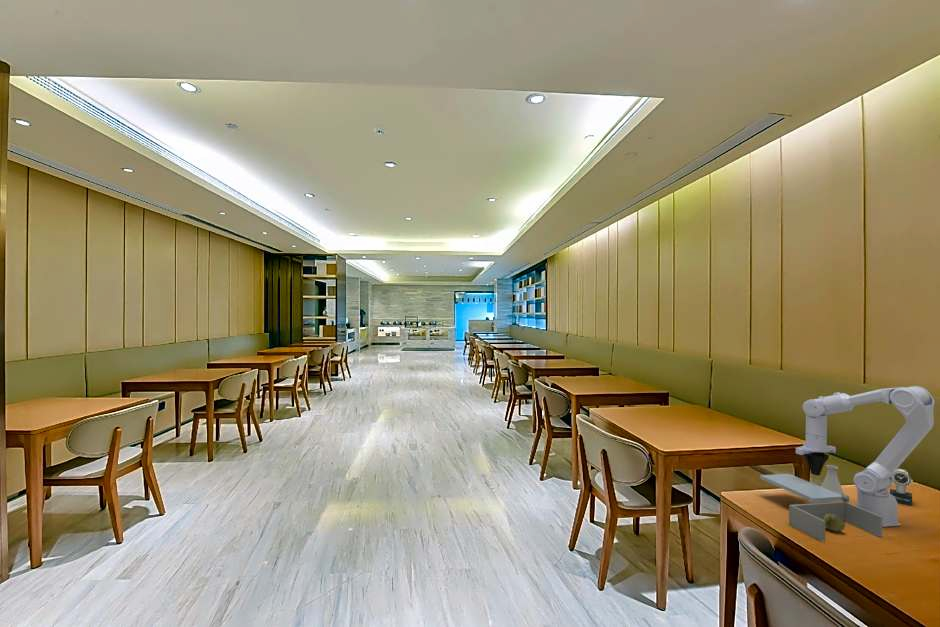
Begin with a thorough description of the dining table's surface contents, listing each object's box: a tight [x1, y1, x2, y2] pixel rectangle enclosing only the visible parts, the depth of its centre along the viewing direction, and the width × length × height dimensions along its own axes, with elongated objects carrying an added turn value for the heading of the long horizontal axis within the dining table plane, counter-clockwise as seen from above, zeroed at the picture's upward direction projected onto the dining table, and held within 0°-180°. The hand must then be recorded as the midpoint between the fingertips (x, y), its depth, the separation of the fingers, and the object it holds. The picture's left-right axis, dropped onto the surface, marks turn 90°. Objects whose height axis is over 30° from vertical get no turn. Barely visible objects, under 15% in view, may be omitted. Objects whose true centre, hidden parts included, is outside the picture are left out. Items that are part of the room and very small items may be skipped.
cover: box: [759, 473, 850, 503], centre depth 148 cm, size 21×13×1 cm, turn 10°
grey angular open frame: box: [788, 500, 883, 542], centre depth 132 cm, size 20×11×6 cm, turn 100°
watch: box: [889, 468, 914, 507], centre depth 154 cm, size 6×8×11 cm
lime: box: [823, 514, 846, 533], centre depth 132 cm, size 4×5×5 cm
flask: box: [820, 464, 845, 495], centre depth 160 cm, size 7×7×10 cm
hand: (815, 474), depth 153 cm, fingers closed
